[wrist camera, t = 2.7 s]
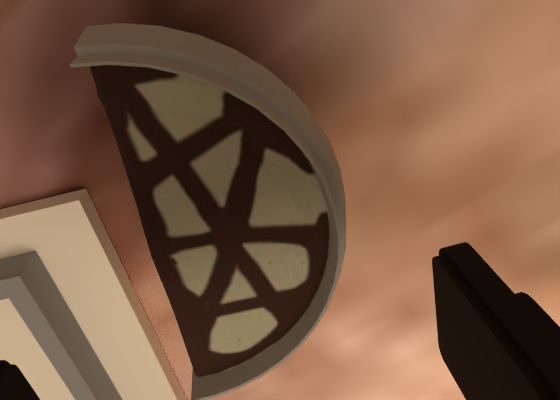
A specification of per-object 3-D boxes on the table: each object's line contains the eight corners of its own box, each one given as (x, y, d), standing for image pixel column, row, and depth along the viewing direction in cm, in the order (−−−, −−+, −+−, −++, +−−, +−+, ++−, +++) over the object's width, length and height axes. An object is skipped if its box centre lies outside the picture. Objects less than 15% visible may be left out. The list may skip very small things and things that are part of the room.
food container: (320, 228, 25) (372, 380, 16) (207, 248, 25) (195, 413, 16) (289, -27, 19) (343, -10, 10) (138, -1, 19) (59, 38, 10)
